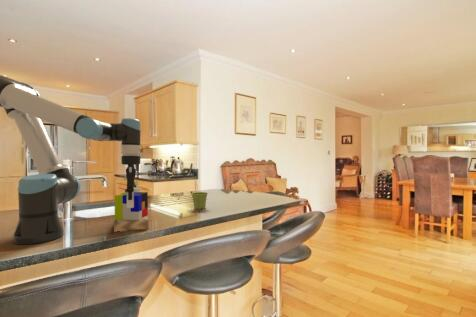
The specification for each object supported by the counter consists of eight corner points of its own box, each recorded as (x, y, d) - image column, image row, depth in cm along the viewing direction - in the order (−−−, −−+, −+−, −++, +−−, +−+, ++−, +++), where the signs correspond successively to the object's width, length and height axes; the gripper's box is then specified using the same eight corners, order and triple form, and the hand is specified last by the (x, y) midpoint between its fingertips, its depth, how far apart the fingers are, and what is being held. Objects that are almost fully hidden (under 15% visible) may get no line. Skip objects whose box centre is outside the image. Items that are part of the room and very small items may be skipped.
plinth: (114, 232, 108) (113, 222, 108) (116, 224, 121) (116, 215, 121) (148, 228, 113) (148, 219, 113) (147, 221, 125) (147, 212, 125)
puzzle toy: (138, 219, 112) (138, 195, 111) (114, 219, 112) (114, 195, 112) (147, 214, 122) (147, 192, 121) (125, 214, 122) (125, 192, 122)
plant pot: (188, 209, 152) (188, 194, 152) (196, 206, 161) (195, 191, 161) (203, 210, 149) (203, 194, 149) (210, 207, 158) (210, 192, 158)
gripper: (140, 155, 106) (140, 209, 106) (140, 155, 129) (140, 199, 130) (119, 155, 103) (119, 211, 104) (123, 155, 127) (123, 200, 127)
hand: (130, 204), depth 117 cm, fingers open, 13 cm apart
